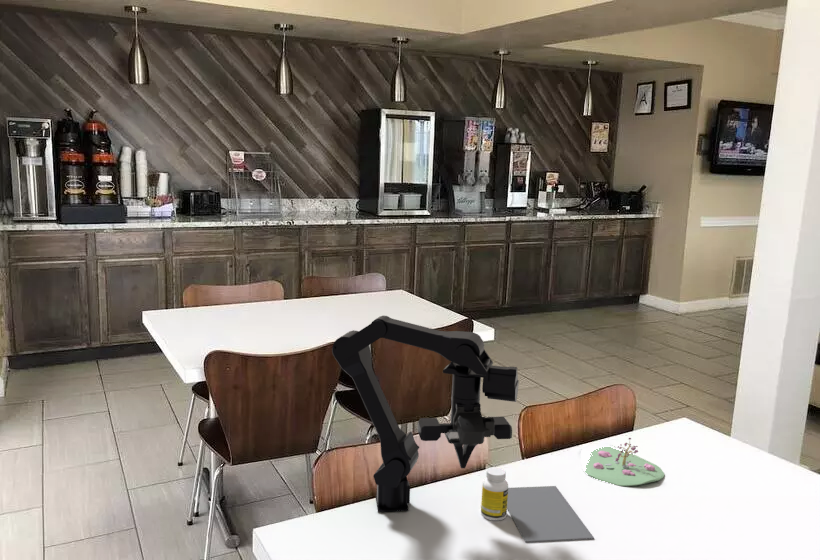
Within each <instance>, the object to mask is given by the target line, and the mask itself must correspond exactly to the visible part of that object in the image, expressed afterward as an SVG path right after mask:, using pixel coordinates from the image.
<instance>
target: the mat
mask: <svg viewBox="0 0 820 560" xmlns="http://www.w3.org/2000/svg"><path fill="white" fill-rule="evenodd" d="M507 512H508V513H509V515H510V516H511V519H512V521H513V522H514V524H515V526H516V527H517V530H518V531H519V533H520V535H521V537H522V539H523V540H524V542H525V543H544V542H546V543H547V542H561V541H563V542H565V541H581V540H583V541H585V540H594V539H595V537H594V536H593V533H591V531H590V530H589V528H588V527H587V526H586V525H585V523H584V522H583V521H582V520H581V518H580V517H579V515H578V514H577V513H576V511H575V510H574V508H573V507H572V506H571V504H570V503H569V502H568V501H567V499H566V498H565V496H564V495H563V494H562V492H561V491H560V490H559V488H558V487H557V485H550V486H549V485H548V486H547V485H545V486H543V485H542V486H521V487H520V486H519V487H517V486H516V487H508V499H507Z"/></svg>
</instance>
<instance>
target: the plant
mask: <svg viewBox="0 0 820 560" xmlns="http://www.w3.org/2000/svg"><path fill="white" fill-rule="evenodd" d="M628 440H629V441H631V440H632V438H631V437H628ZM623 445H624V447H623V446H622V443H621V444H620V446H617V448H619V449H622V451H619V450H616V449H613V448H611V447H604V448H603V447H602V449H601V448H599V450H598V449H596V450H597V451H596V450H594V451H593V452H591V453H592V455H593V456H592V455H591V454H590V455H591V457H590V459H589V460H590V461H589V460H588V461H589V463H587V464H588V465H586V468H587V469H586V471H585V472H586V473H587V474H588V475H587V474H586V473H585V472H584V473H585V474H586V475H587V476H589V477H590V476H591V478H592V477H593V478H592V479H594V478H595V479H594V480H596V479H598V480H597V481H599V480H601V481H600V482H602V481H605V482H604V483H606V482H608V483H607V484H610V483H611V484H610V485H613V484H614V486H619V487H631V486H632V487H633V486H640V485H644V484H648V483H653V482H654V483H655V482H658V481H661V480H662V479H664V477H665V472H664V471H663V469H662V468H661V467H660V466H659V465H657V464H655V463H653V462H651V461H649V460H646V459H645V458H642V457H640V456H638V455H635V454H636V453H639V451H638V449H636V448H638V445H636V446H635V445H633V446H632V444H631V442H629V443H628V442H625V443H624V444H623ZM627 445H628V447H627ZM625 447H627V449H626V448H625ZM629 449H630V450H629ZM623 450H624V451H625V453H624V452H623ZM629 453H631V454H629ZM633 454H634V455H633Z"/></svg>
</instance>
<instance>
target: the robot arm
mask: <svg viewBox="0 0 820 560" xmlns="http://www.w3.org/2000/svg"><path fill="white" fill-rule="evenodd" d="M380 339H385V340H389V341H393V342H397V343H401V344H403V345H404V344H405V345H408V346H412V347H415V348H420V349H423V350H426V351H431V352H434V353H436V354H438V355H440V356H442V357H443V358H445V359H446V361H447V360H448V362H449V361H450V362H449V364H447V365H446V366H445V367H444V368H443V370H442V373H443V374H446V375H452V381H451V382H452V384H451V396H450V397H451V400H450V401H451V404H450V405H451V409H450V423H445V422H443V423H440V422H439V420H438V418H437V417H420V419H419V420H418V421H417V429H416V430H417V433H418V435H419V439H420V440H421V441H422V442H433V441H435V442H436V441H439V439H440V438H441V437H442V434H444V435H445V438H446V440H447V442H448V444H451V445H453V447H454V449H455V450H454V451H455V453H456V457H457V460H458V463H459V467H460V469H465V468H466V467H467V464H468V462H469V460H470V458H471V455H472V453H473V451H474V449H475V447H476V446H478V445H482V444H483V443H484V442H485V438H491V436H494V437H495V438H496V439H497V440H510V439H512V438H513V428H512V425H511V424H510V422H509V421H508V419H507V418H506V417H505V416H487V417H486V416H483V414H482V411H481V409H482V408H481V406H482V405H481V402H480V401H481V392H482V393H483V394H484V397H487V399H489V400H497V401H505V402H512V403H516V402H517V400H518V399H517V398H518V393H519V383H520V380H519V375H518V367H517V366H501V365H493V364H494V362H493V360H492V358H491V357H490V355H489V354H488V353H487V351H486V350H485V343H484V340H483V339H482V337H481V336H480V335H479V333H476V332H472V331H462V330H461V331H459V330H453V331H448V330H447V331H446V330H444V331H443V330H439V329H434V328H431V327H430V328H429V327H426V326H423V325H420V324H415V323H411V322H407V321H404V320H399V319H394V318H391V317H390V316H388V315H381V316H379V317H376V318H375V319H374V320H372V321H371V323H369V324H368V325H366V326H365V327H363V328H362V329H360V330H359V331H358V330H355V329H354V330H353V329H352V330H350V331H348V332H346V333H345V334H343V335H341V336H339V337H338V338H337V339H336V340H334V342H333V345H332V348H331V353H332V356H333V357H334V359H335V361H336V362H337V363H338V365H339V367H340V368H341V369H342V371H344V372H345V373H346V374H347V375H349V377H350V378H352V380H353V382H354V384H355V385H354V386H355V387H356V389H357V391H358V394H359V395H360V398H361V400H362V403H363V405H364V408H365V410H366V411H367V414H368V416H369V418H370V421H371V422H372V424H373V427H374V429H375V430H376V433H377V436H378V438H379V444H380V455H381V460H382V463H381V464H380V465H379V467H378V469H377V470H376V471H375V472H374V474H373V480H374V483H375V485H376V495H375V502H376V509H377V512H378V513H388V512H389V513H390V512H391V513H392V512H407V511H409V504H410V500H411V497H410V496H411V485H410V481H409V480H408V476H409V474H410V473H411V471H412V469H414V467H415V465H416V463H417V462H418V459H419V454H420V453H419V449H420V446H419V445H418V444H417V442H416V441H415V437H414V434H413V432H412V431H409V432H407V433H406V432H405V431H403V430H402V429H401V428H400V426H399V424H398V422H397V420H396V418H395V415H394V414H393V411H392V409H391V406H390V405H389V403H388V400H387V398H386V396H385V393H384V391H383V389H382V387H381V385H380V383H379V380H378V377H377V376H376V373H375V372H374V371H375V370H373V364H372V363H373V361H372V352H371V348H370V345H372V344H373V343H374V342H376V341H378V340H380ZM481 383H482V384H481ZM481 385H482V387H481ZM481 388H482V391H481Z"/></svg>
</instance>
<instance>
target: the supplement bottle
mask: <svg viewBox="0 0 820 560" xmlns="http://www.w3.org/2000/svg"><path fill="white" fill-rule="evenodd" d="M485 474H486V475H485V476H486V477H485V478H483V480H482V487H481V502H480V504H481V505H480V513H481V514H480V515H481V516H482V517H483V518H484V519H487V520H490V521H502V520H504V519H505V518H506V517H507V512H508V510H507V499H508V488H509V483H508V481H507V480H506V474H507V473H506V470H505V469H503V468H501V467H498V466H492V467H488V468H487V469H486V473H485Z"/></svg>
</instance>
